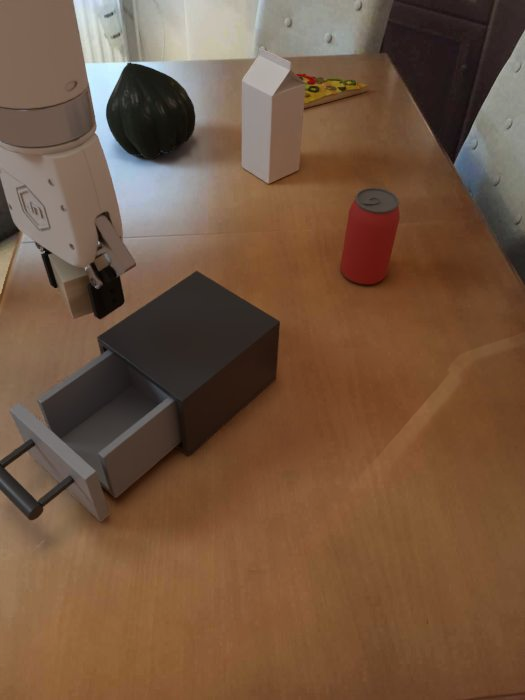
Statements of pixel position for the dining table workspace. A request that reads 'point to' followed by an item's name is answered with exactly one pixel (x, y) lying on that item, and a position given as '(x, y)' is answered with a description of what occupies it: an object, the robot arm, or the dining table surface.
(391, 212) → the beer can
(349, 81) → the pizza slice
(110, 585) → the dining table surface
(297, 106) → the milk carton
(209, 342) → the cabinet
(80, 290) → the block
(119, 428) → the drawer
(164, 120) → the squash
